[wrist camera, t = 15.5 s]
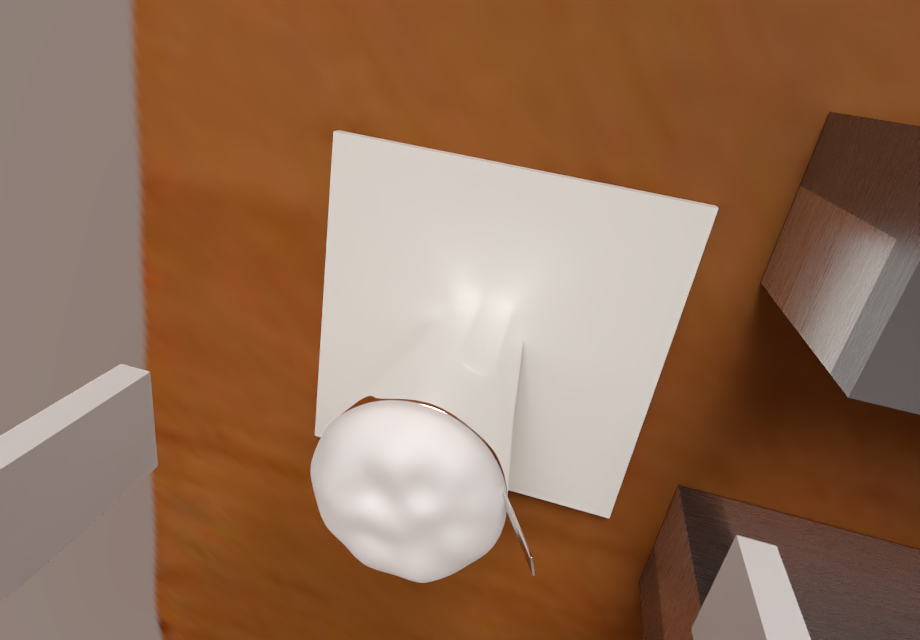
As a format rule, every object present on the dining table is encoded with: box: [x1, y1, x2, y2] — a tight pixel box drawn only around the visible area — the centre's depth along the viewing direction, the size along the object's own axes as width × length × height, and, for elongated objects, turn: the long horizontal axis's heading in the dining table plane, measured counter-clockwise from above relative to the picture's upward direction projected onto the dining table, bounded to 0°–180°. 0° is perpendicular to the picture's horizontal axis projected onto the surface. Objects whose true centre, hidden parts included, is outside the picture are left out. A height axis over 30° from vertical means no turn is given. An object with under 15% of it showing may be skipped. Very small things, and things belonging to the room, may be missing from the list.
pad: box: [315, 130, 719, 518], centre depth 20 cm, size 12×12×1 cm
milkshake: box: [311, 301, 535, 583], centre depth 16 cm, size 4×5×10 cm
